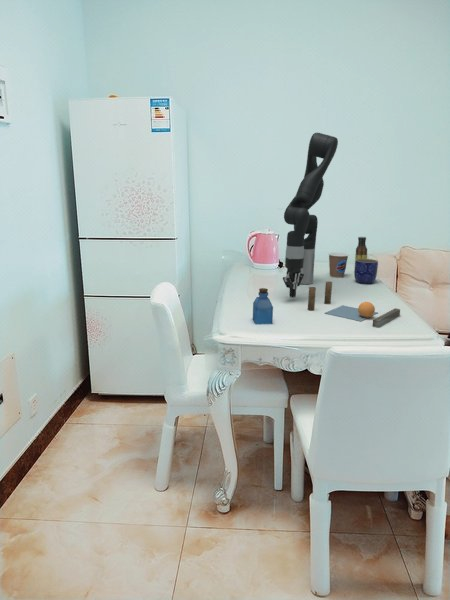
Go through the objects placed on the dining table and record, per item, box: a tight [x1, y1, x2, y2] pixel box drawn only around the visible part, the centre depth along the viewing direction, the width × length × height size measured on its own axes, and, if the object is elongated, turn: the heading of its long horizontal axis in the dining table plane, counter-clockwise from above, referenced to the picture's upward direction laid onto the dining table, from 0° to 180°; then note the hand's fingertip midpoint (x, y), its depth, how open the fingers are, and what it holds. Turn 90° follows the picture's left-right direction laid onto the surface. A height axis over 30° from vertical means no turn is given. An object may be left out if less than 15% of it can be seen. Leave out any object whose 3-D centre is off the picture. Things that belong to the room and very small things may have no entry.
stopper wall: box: [372, 308, 401, 329], centre depth 170 cm, size 2×20×2 cm, turn 139°
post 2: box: [323, 281, 333, 305], centre depth 191 cm, size 3×3×9 cm
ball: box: [357, 301, 376, 319], centre depth 173 cm, size 6×6×6 cm
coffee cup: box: [328, 252, 349, 279], centre depth 243 cm, size 10×10×12 cm
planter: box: [353, 258, 379, 285], centre depth 230 cm, size 11×11×11 cm
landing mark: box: [324, 304, 379, 323], centre depth 179 cm, size 15×15×1 cm
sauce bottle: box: [354, 236, 368, 261], centre depth 251 cm, size 7×6×20 cm
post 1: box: [307, 286, 317, 311], centre depth 182 cm, size 3×3×9 cm
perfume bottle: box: [252, 287, 274, 325], centre depth 166 cm, size 6×6×12 cm
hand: (292, 297), depth 195 cm, fingers closed
